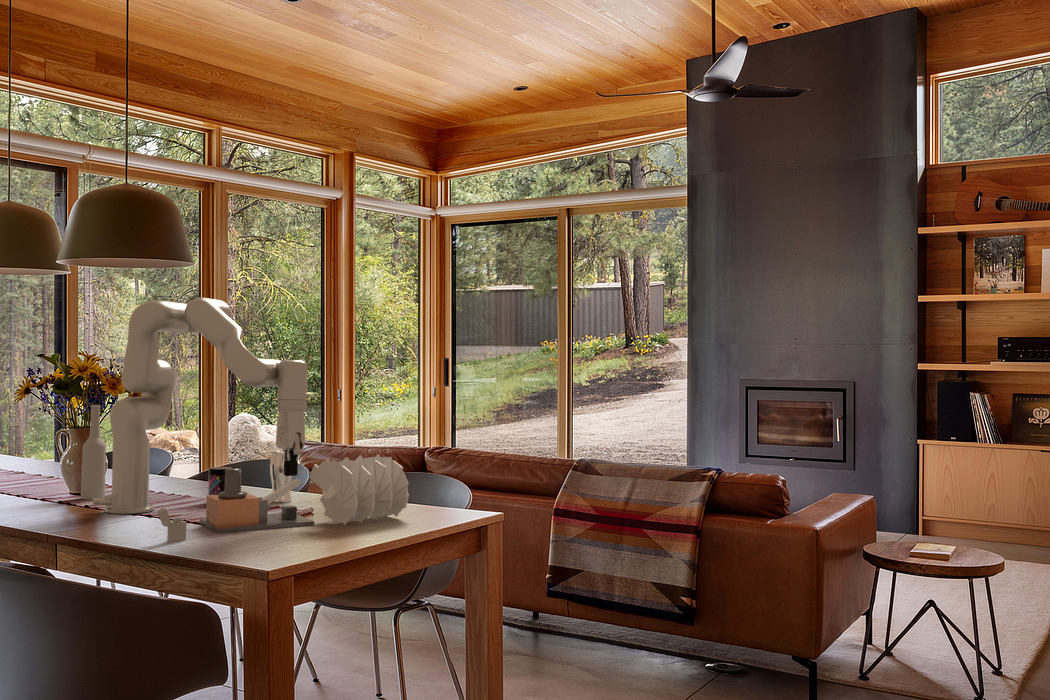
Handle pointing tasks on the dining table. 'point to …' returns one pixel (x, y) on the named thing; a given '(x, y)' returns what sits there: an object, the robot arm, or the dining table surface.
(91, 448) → the bottle
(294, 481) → the latch lever
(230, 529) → the base
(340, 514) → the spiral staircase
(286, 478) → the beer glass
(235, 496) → the steel pin
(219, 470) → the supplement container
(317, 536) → the dining table surface
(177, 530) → the lighter
